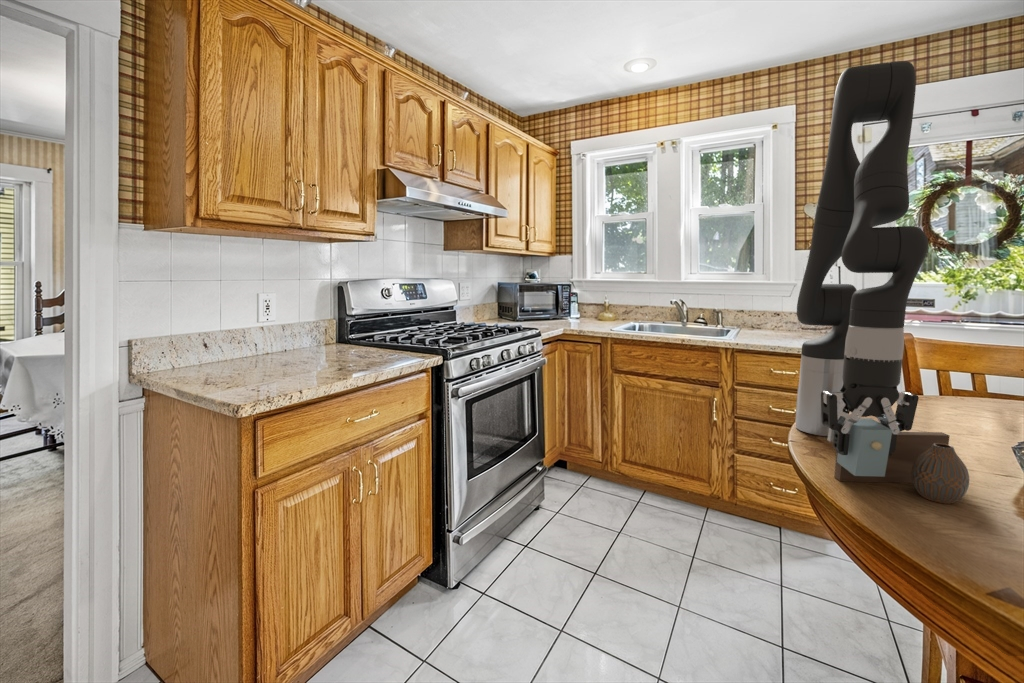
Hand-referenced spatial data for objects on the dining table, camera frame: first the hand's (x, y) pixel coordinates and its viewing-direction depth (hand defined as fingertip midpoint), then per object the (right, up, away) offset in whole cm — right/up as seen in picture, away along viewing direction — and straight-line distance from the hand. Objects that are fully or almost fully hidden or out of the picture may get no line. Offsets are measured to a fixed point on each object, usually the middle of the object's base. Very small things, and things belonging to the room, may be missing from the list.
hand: (863, 453), depth 80 cm
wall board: (+7, -6, +4) cm, 10 cm away
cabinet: (0, -2, +2) cm, 3 cm away
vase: (+10, -7, -3) cm, 12 cm away
